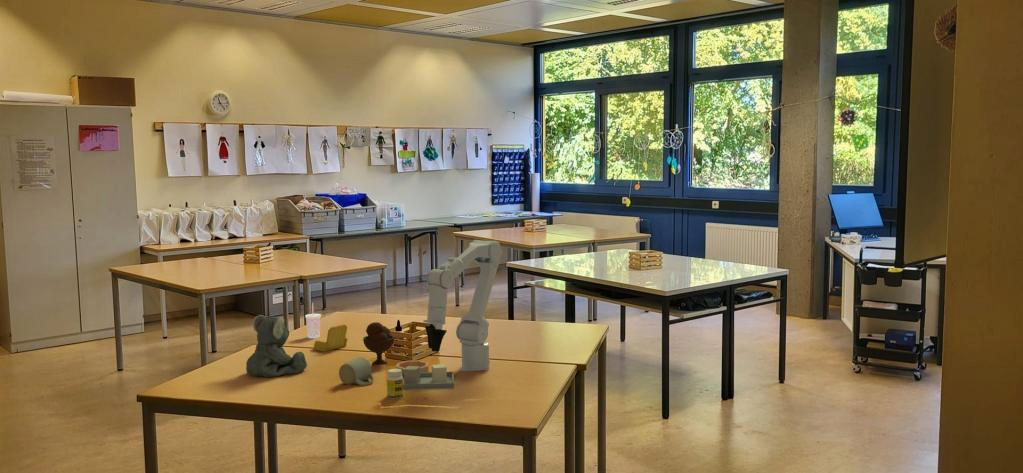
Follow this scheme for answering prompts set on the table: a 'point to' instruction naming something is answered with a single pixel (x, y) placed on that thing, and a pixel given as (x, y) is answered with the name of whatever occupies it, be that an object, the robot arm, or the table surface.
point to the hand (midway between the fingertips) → (433, 349)
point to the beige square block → (412, 375)
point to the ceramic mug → (356, 372)
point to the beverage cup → (313, 324)
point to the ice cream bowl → (378, 341)
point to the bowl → (423, 365)
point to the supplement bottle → (394, 384)
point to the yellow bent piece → (333, 339)
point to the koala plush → (273, 350)
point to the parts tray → (430, 382)
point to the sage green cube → (439, 373)
